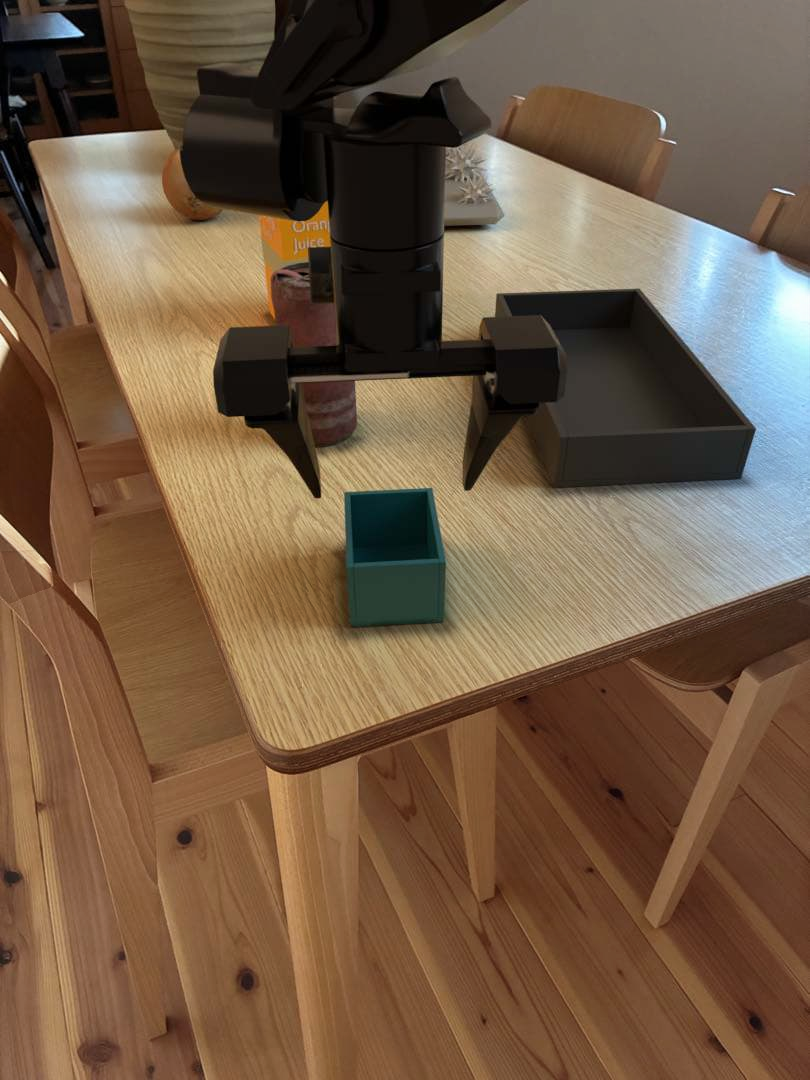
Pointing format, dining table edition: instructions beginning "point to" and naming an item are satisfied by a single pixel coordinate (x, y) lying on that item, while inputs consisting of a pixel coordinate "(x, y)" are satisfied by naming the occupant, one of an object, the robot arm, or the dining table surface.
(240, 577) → the dining table surface
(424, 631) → the dining table surface
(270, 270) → the orange juice
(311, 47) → the robot arm
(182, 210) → the onion
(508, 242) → the dining table surface
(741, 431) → the tray
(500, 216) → the decorative tray
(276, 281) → the soda can
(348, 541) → the teal bin
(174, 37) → the vase
